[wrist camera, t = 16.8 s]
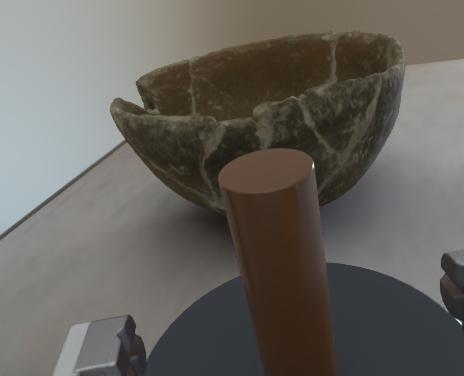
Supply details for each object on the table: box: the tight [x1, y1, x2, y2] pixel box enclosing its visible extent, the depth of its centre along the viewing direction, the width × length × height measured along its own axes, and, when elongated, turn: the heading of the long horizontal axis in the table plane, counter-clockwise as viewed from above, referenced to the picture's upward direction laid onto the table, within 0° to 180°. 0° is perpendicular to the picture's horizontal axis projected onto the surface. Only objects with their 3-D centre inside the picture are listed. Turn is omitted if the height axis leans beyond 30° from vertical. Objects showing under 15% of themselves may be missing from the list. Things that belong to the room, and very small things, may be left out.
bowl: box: [110, 31, 405, 217], centre depth 43 cm, size 28×27×15 cm
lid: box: [144, 148, 464, 376], centre depth 14 cm, size 14×14×10 cm
